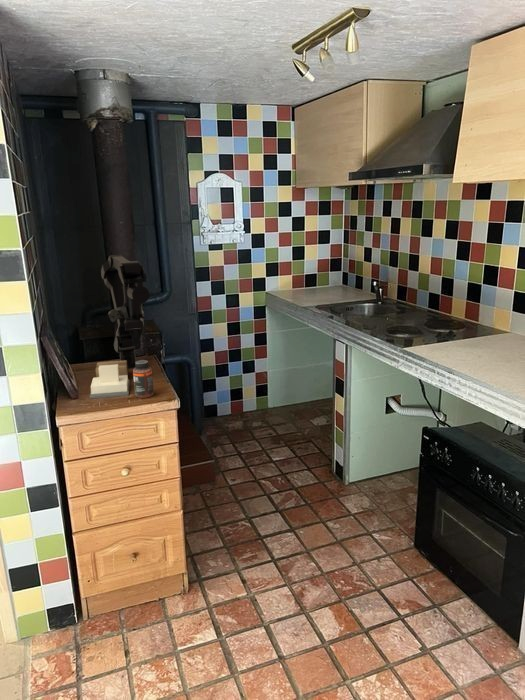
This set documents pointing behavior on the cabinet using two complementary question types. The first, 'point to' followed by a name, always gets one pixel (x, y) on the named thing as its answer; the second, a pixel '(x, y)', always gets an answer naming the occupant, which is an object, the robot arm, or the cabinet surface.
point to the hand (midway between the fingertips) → (136, 342)
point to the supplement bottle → (143, 379)
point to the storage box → (121, 364)
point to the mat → (113, 394)
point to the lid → (109, 380)
